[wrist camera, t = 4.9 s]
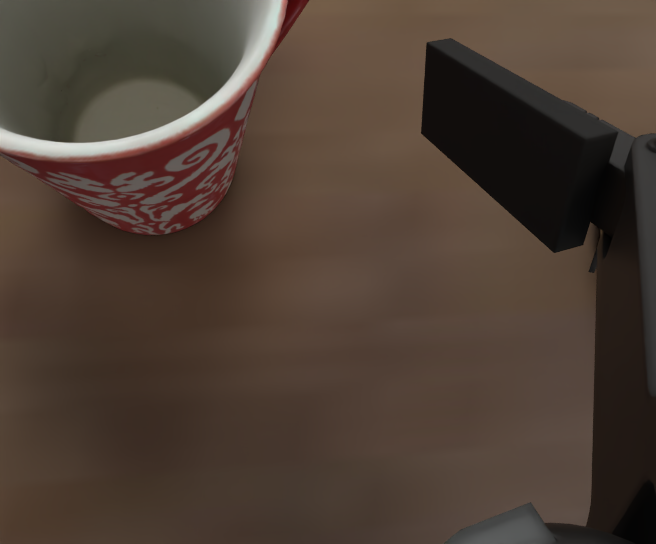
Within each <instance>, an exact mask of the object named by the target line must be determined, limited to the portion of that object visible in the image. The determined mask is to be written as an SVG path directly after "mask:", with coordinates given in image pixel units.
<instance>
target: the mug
mask: <svg viewBox="0 0 656 544" xmlns="http://www.w3.org/2000/svg"><path fill="white" fill-rule="evenodd" d="M308 1H309V0H0V155H1V156H2V157H4V158H5V159H7V160H8V161H10V162H11V163H13V164H15V165H16V166H18V167H20V168H21V169H23V170H24V171H26V172H28V173H29V174H31V175H33V176H34V177H36V178H37V179H39V180H40V181H42V182H43V183H45V184H47V185H48V186H50V187H51V188H53V189H54V190H56V191H57V192H59V193H60V194H62V195H63V196H65V197H66V198H68V199H69V200H71V201H72V202H74V203H75V204H76V205H78V206H80V207H83V208H84V209H85V210H87V211H88V212H89V213H90V214H92V215H94V216H96V217H98V218H99V219H101V220H102V221H104V222H106V223H108V224H110V225H112V226H114V227H116V228H118V229H121V230H124V231H127V232H131V233H136V234H144V235H161V234H168V233H173V232H177V231H180V230H183V229H186V228H188V227H190V226H192V225H194V224H196V223H198V222H199V221H201V220H203V219H204V218H205V217H206V216H207V215H209V214H210V213H211V212H212V211H213V210H214V209H215V208H216V207H217V206H218V204H219V203H220V202H221V200H222V199H223V197H224V196H225V194H226V193H227V190H228V188H229V186H230V184H231V182H232V179H233V176H234V173H235V169H236V165H237V161H238V155H239V152H240V148H241V145H242V141H243V136H244V133H245V128H246V123H247V120H248V116H249V113H250V110H251V107H252V103H253V100H254V96H255V92H256V88H257V84H258V81H259V76H260V73H261V72H262V70H263V69H264V67H265V65H266V64H267V62H268V60H269V58H270V56H271V55H272V54H273V52H274V51H275V50H276V48H277V47H278V46H279V44H280V43H281V41H282V40H283V39H284V37H285V36H286V34H287V33H288V31H289V30H290V28H291V27H292V25H293V24H294V22H295V21H296V19H297V18H298V17H299V15H300V13H301V12H302V10H303V9H304V7H305V6H306V4H307V3H308Z"/></svg>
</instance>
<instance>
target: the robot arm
mask: <svg viewBox="0 0 656 544" xmlns="http://www.w3.org/2000/svg"><path fill="white" fill-rule="evenodd" d="M421 134H422V135H424V136H425V137H426V138H427V139H428V140H429V141H430V142H431V143H432V144H434V145H435V146H436V147H437V148H438V149H439V150H440V151H441V152H442V153H444V154H445V155H446V156H447V157H448V158H449V159H450V160H451V161H452V162H454V163H455V164H456V165H457V166H458V167H459V168H460V169H461V170H462V171H464V172H465V173H466V174H467V175H468V176H469V177H470V178H471V179H472V180H474V181H475V182H476V183H477V184H478V185H479V186H480V187H481V188H482V189H484V190H485V191H486V192H487V193H488V194H489V195H490V196H491V197H492V198H494V199H495V200H496V201H497V202H498V203H499V204H500V205H501V206H502V207H504V208H505V209H506V210H507V211H508V212H509V213H510V214H511V215H512V216H514V217H515V218H516V219H517V220H518V221H519V222H520V223H521V224H522V225H524V226H525V227H526V228H527V229H528V230H529V231H530V232H531V233H532V234H534V235H535V236H536V237H537V238H538V239H539V240H540V241H541V242H542V243H544V244H545V245H546V246H547V247H548V248H549V249H550V250H551V251H552V252H554V253H556V252H560V251H563V250H567V249H570V248H574V247H577V246H581V245H583V243H584V240H585V237H586V234H587V231H588V228H589V224H590V222H592V223H593V224H594V225H596V226H597V227H598V228H600V229H601V230H602V234H601V237H600V240H599V243H598V246H597V249H596V252H595V255H594V258H593V260H592V263H591V266H590V269H589V272H592V273H594V272H595V270H596V268H597V288H596V329H595V370H594V411H593V452H592V493H591V506H590V512H589V517H588V521H587V525H586V527H584V526H578V525H573V524H561V523H544V522H543V520H542V519H541V517H540V516H539V514H538V513H537V511H536V510H535V508H534V507H533V505H532V504H531V502H530V503H528V504H525V505H523V506H520V507H518V508H515V509H512V510H510V511H507V512H505V513H502V514H500V515H497V516H495V517H492V518H489V519H487V520H484V521H482V522H479V523H477V524H474V525H472V526H469V527H466V528H464V529H461V530H460V531H459V532H457V533H456V534H455V535H454V536H452V537H451V538H450V539H449V540H447V541H446V542H445V543H444V544H656V134H646V135H641V136H639V137H637V138H635V137H633V136H631V135H629V134H627V133H626V132H624V131H622V130H620V129H618V128H616V127H615V126H613V125H611V124H609V123H607V122H606V121H604V120H599V118H598V117H597V116H595V115H593V114H591V113H587V111H586V110H584V109H582V108H580V107H578V106H577V105H575V104H573V103H571V102H567V101H564V100H561V99H559V98H557V97H555V96H554V95H552V94H550V93H548V92H547V91H545V90H543V89H541V88H539V87H538V86H536V85H534V84H532V83H530V82H529V81H527V80H525V79H523V78H521V77H520V76H518V75H516V74H514V73H512V72H511V71H509V70H507V69H505V68H503V67H502V66H500V65H498V64H496V63H494V62H493V61H491V60H489V59H487V58H485V57H484V56H482V55H480V54H478V53H477V52H475V51H473V50H471V49H469V48H468V47H466V46H464V45H462V44H460V43H459V42H457V41H455V40H453V39H451V38H450V39H444V40H438V41H432V42H427V45H426V62H425V78H424V95H423V111H422V128H421Z"/></svg>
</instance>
